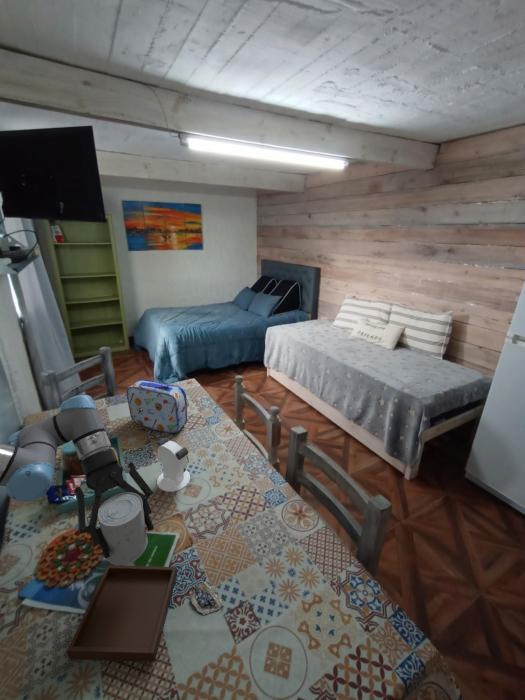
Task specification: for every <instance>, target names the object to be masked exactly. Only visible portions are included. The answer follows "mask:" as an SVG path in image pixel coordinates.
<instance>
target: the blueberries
mask: <svg viewBox="0 0 525 700" xmlns="http://www.w3.org/2000/svg"><path fill="white" fill-rule="evenodd" d="M215 592H217V590H215V589H214V585H212V584H211V582H209V581H203V582H201V583H199V584H195V587H194V588H193V589H192V594H190V595H189V600H190V602H191V604H192V605H193V606H194V607H195V609H196V610H197V612H198V613H200V614H202V615H203V616H205V615H210V614H211V613H213V612H217V611H219V610H220V609H221V607H222V604H223V601H222V600H223V599H222V597H220V596H219V593H218V594H217V593H215Z"/></svg>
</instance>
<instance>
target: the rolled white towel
mask: <svg viewBox="0 0 525 700" xmlns="http://www.w3.org/2000/svg"><path fill="white" fill-rule="evenodd" d="M97 521H98V522H99V528H100V529H101V532H102V535H103V537H104V540H105V543H106V546H107V548H108V551H109V554H110V557H108V558H106V560H107V562H108V563H109V564H110V565H117V566H118V565H120V566H127V565H129V564H132V563H133V562H135V561H136V560H138V559H139V558H140V557H141V556H142V555H143V554H144V553H145V551H146V549H147V546H148V542H149V540H148V535H147V534H148V533H147V526H146V524H145V519H144V512H143V502H142V499H141V497H140V496H139V495H138V494H135V493H131V492H126V491H124V492H120V493H117V494H114V495H112V496H111V497H109V498H107V499H106V500H105V501H104V502H103V503H102V504H101V505H100V506H99V510H98V516H97Z"/></svg>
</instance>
